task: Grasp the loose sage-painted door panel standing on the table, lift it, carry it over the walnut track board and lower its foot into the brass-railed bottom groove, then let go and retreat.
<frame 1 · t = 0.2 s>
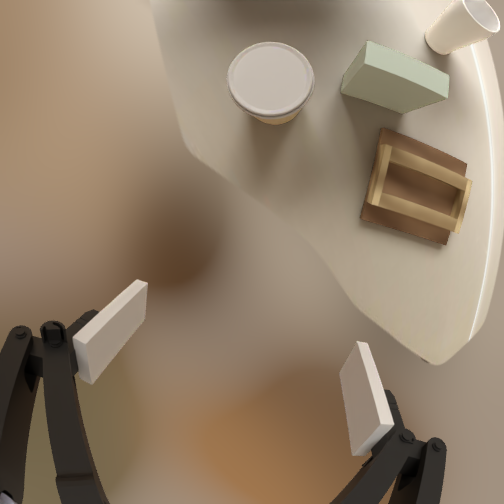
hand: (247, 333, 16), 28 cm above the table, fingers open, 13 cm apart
coffee cup: (274, 100, 37), on the table
track board: (416, 188, 38), on the table
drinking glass: (436, 42, 29), on the table
door panel: (374, 94, 34), on the table
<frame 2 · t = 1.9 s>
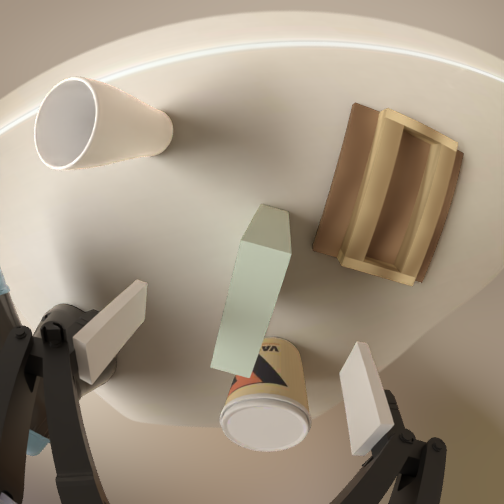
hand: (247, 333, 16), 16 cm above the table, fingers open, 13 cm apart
coffee cup: (271, 358, 36), on the table
track board: (393, 196, 28), on the table
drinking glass: (154, 133, 28), on the table
door panel: (262, 251, 31), on the table
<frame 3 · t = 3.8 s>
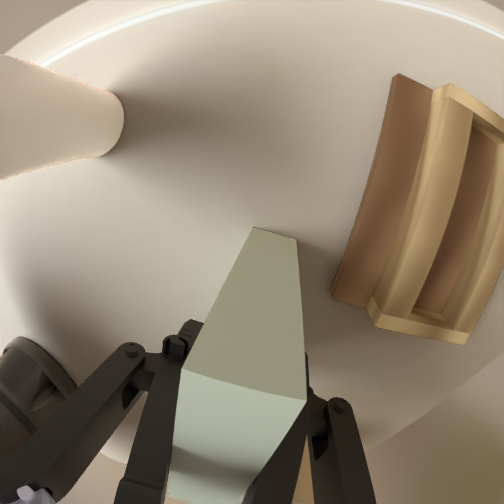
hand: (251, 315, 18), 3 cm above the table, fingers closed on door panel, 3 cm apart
coffee cup: (268, 421, 25), on the table
track board: (447, 216, 17), on the table
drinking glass: (101, 124, 18), on the table
door panel: (255, 297, 21), on the table, touching gripper
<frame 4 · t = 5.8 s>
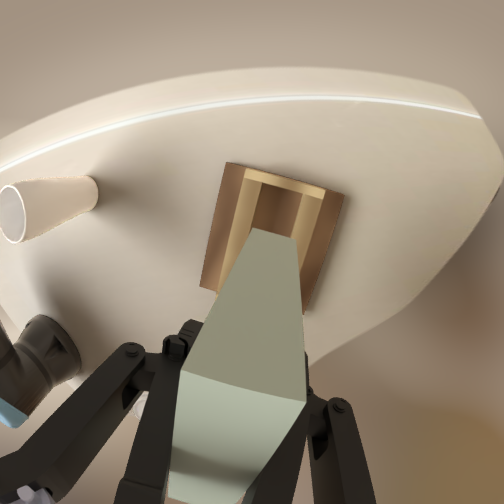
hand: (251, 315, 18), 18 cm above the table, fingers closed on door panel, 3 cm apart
track board: (268, 240, 35), on the table
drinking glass: (87, 192, 36), on the table
door panel: (255, 297, 21), point 15 cm above the table, touching gripper
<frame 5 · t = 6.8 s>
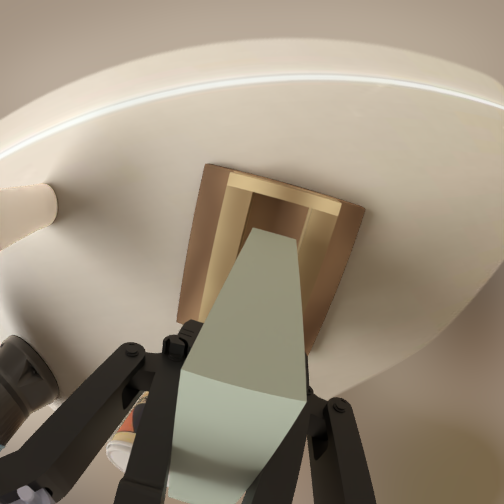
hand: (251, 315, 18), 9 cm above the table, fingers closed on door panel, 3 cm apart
coffee cup: (170, 403, 35), on the table
track board: (262, 267, 27), on the table
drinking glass: (47, 203, 28), on the table
door panel: (256, 297, 21), point 6 cm above the table, touching gripper
when the fingers open (5 cm above the table, at t = 7.8 s): door panel drops 1 cm, resting on track board.
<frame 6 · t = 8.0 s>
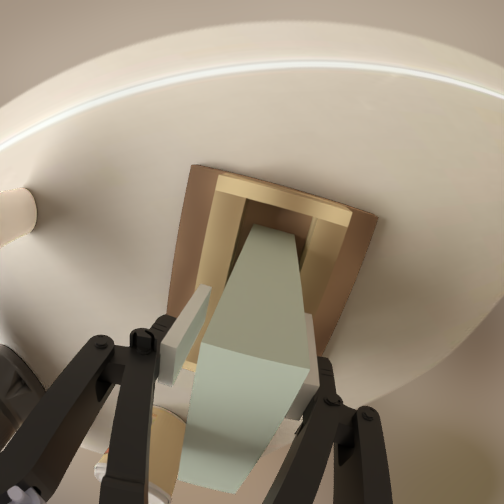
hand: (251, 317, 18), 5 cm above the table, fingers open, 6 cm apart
coffee cup: (161, 421, 32), on the table
track board: (259, 283, 23), on the table
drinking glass: (27, 209, 24), on the table
door panel: (256, 290, 22), point 1 cm above the table, touching track board
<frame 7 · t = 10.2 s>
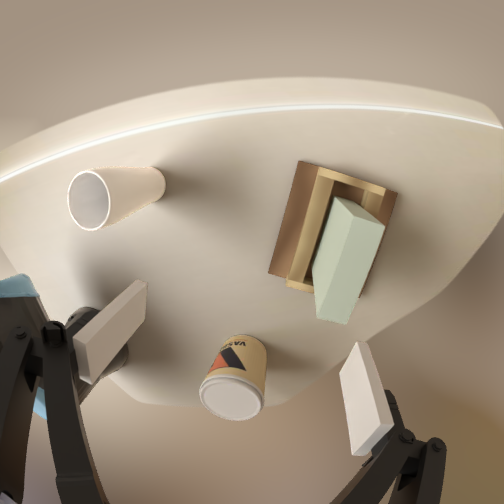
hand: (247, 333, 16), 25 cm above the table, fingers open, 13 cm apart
coffee cup: (244, 351, 47), on the table
track board: (332, 231, 38), on the table
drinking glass: (152, 184, 40), on the table
door panel: (332, 233, 37), point 1 cm above the table, touching track board
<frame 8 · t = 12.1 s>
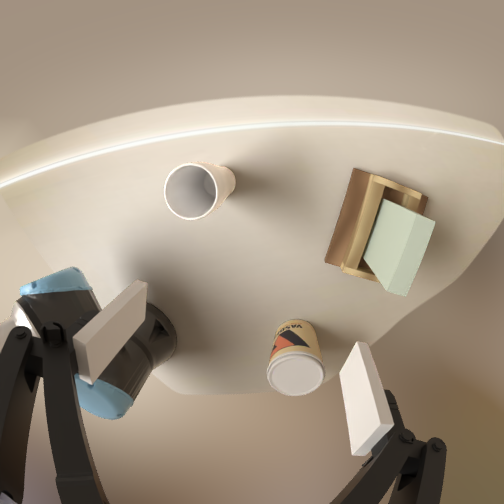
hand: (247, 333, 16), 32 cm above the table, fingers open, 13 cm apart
coffee cup: (295, 335, 53), on the table
track board: (377, 227, 44), on the table
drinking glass: (220, 181, 46), on the table
door panel: (378, 229, 43), point 1 cm above the table, touching track board
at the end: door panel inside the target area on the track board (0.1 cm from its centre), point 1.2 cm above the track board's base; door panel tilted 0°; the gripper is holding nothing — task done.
